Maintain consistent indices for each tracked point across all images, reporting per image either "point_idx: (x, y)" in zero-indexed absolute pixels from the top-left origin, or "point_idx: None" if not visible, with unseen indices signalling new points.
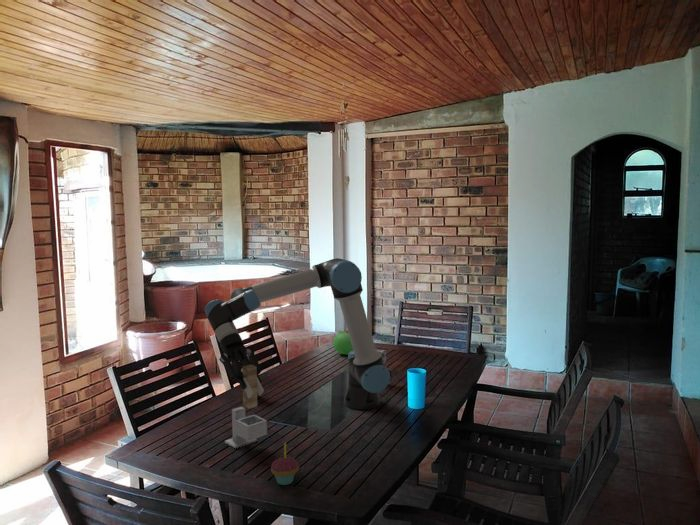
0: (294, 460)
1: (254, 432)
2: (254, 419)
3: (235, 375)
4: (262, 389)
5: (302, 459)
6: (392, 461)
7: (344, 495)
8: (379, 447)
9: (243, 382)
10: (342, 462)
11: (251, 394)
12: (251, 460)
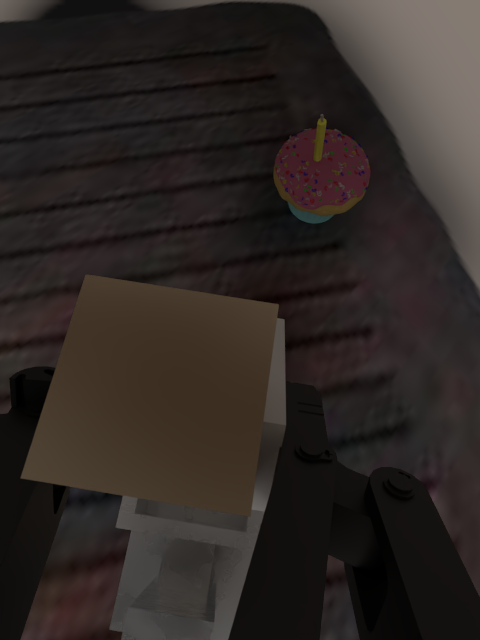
0: (299, 137)
1: None
2: (140, 505)
3: (407, 501)
4: None
5: (165, 248)
6: (29, 51)
7: (263, 58)
8: None
9: (300, 417)
10: (111, 144)
11: (284, 323)
12: None
